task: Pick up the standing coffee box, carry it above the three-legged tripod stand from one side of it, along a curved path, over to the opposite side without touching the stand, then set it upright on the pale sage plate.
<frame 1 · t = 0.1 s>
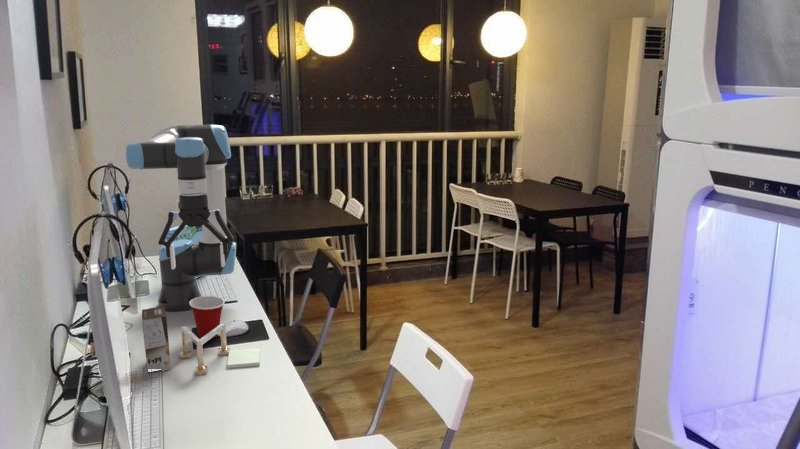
hand: (198, 266, 182), 28 cm above the table, tool pointing down, fingers open, 13 cm apart
plastic cup: (209, 336, 204), on the table
gum box: (190, 280, 261), on the table
coffee box: (158, 365, 183), on the table
end plate: (244, 359, 187), on the table
three-legged tripod stand: (203, 361, 185), on the table
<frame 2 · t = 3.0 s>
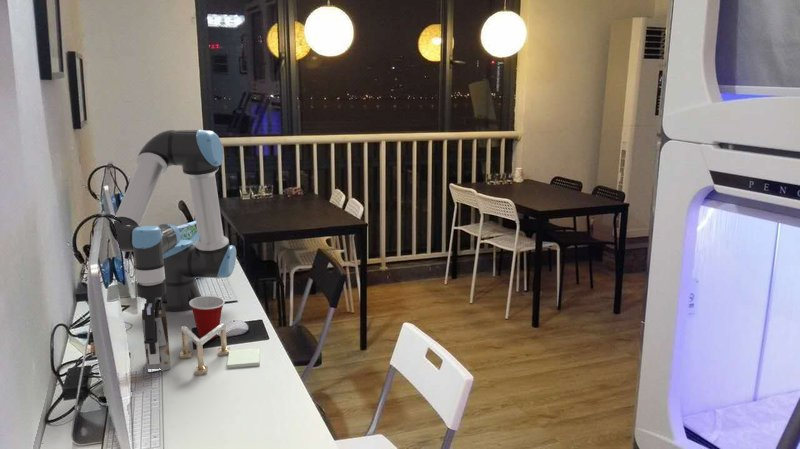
hand: (157, 355, 182), 3 cm above the table, tool pointing down, fingers closed on coffee box, 10 cm apart
coffee box: (158, 365, 183), on the table, touching gripper
everything else where it was.
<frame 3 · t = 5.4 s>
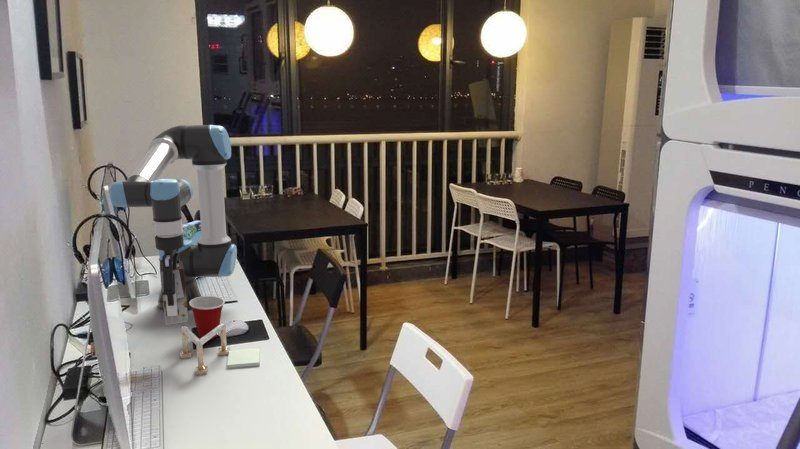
hand: (175, 308, 184), 15 cm above the table, tool pointing down, fingers closed on coffee box, 10 cm apart
coffee box: (176, 318, 185), point 12 cm above the table, touching gripper
everything else where it was.
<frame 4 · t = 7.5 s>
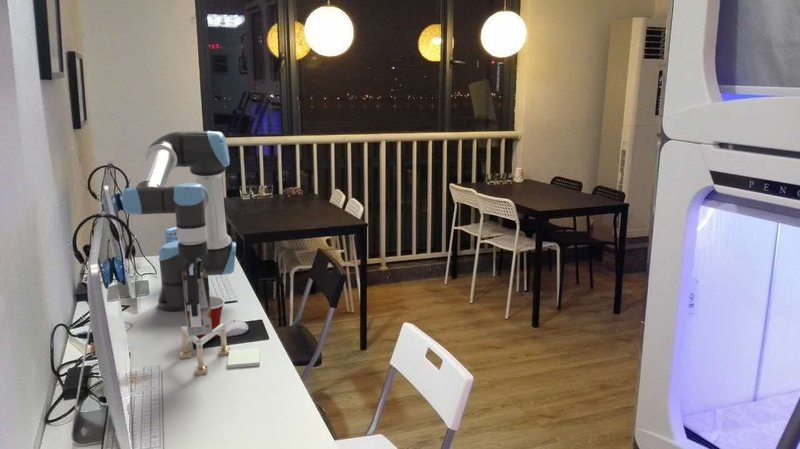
hand: (198, 319, 176), 15 cm above the table, tool pointing down, fingers closed on coffee box, 10 cm apart
coffee box: (199, 329, 177), point 12 cm above the table, touching gripper
everything else where it was.
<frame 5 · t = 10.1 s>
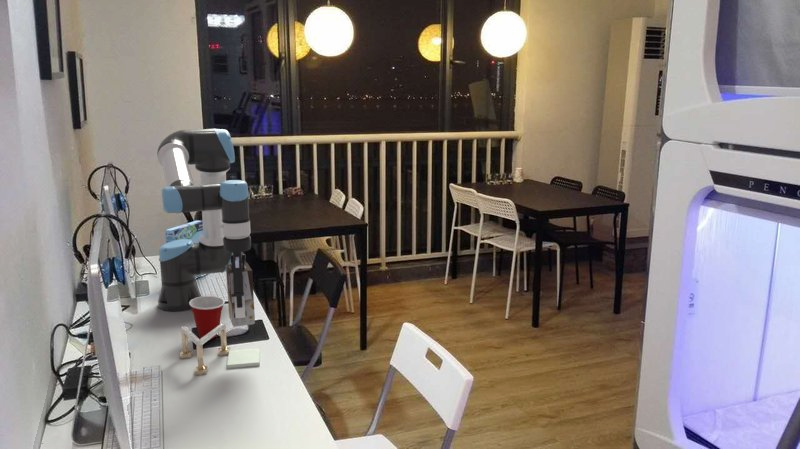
hand: (241, 311, 183), 15 cm above the table, tool pointing down, fingers closed on coffee box, 10 cm apart
coffee box: (241, 321, 184), point 12 cm above the table, touching gripper
everything else where it was.
when the fingers open (5 cm above the table, at t = 12.4 s): coffee box stays where it is, resting on end plate.
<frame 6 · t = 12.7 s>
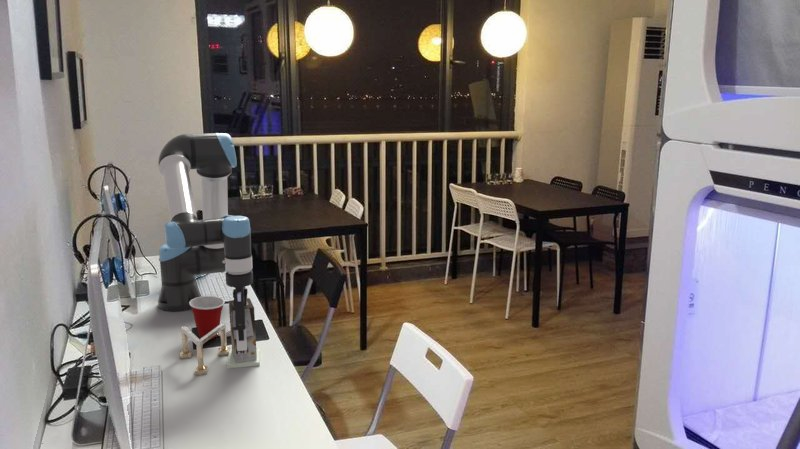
hand: (243, 340, 185), 6 cm above the table, tool pointing down, fingers open, 13 cm apart
coffee box: (244, 356, 187), point 1 cm above the table, touching end plate
everything else where it was.
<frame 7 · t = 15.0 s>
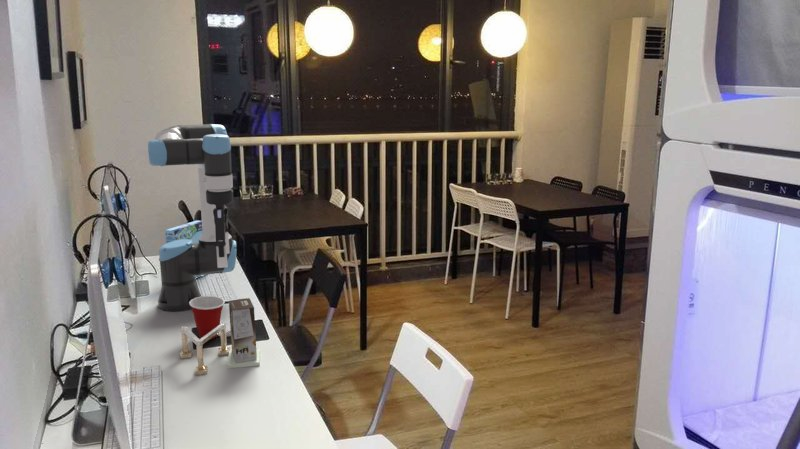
hand: (223, 260, 187), 28 cm above the table, tool pointing down, fingers open, 13 cm apart
nothing on the table moved.
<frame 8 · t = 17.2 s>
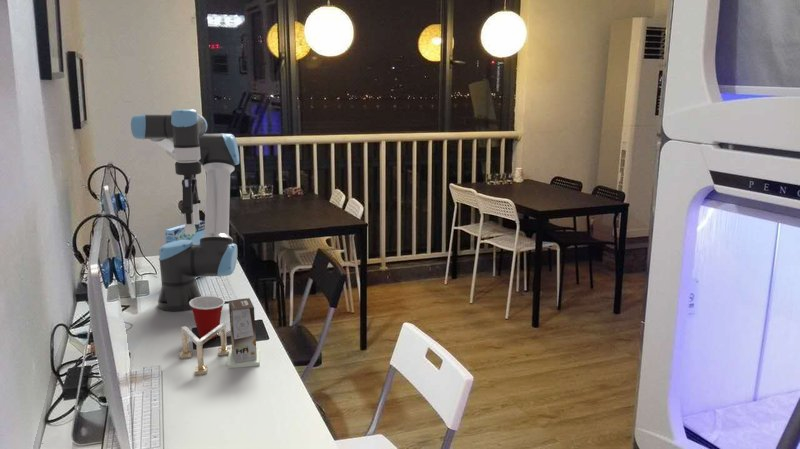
hand: (192, 229, 198), 35 cm above the table, tool pointing down, fingers open, 13 cm apart
nothing on the table moved.
at the end: coffee box inside the target area on the end plate (0.6 cm from its centre), point 0.8 cm above the end plate's base; coffee box tilted 0°; coffee box touching end plate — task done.
